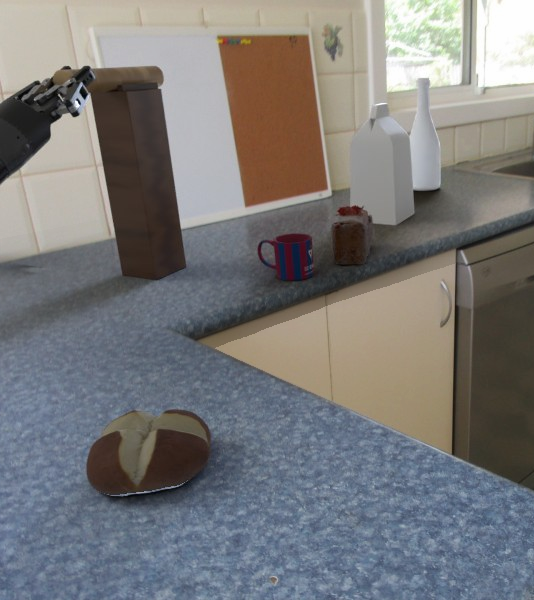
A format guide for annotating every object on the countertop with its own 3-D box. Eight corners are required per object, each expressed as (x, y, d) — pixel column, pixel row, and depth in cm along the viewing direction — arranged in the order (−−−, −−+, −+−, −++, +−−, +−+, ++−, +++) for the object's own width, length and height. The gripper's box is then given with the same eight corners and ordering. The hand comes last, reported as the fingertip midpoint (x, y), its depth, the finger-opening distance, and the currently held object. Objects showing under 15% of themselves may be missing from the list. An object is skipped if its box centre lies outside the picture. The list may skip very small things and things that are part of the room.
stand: (156, 280, 118) (125, 85, 106) (122, 275, 121) (88, 84, 109) (186, 267, 124) (160, 82, 113) (153, 262, 127) (125, 82, 116)
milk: (395, 225, 151) (393, 106, 142) (350, 221, 155) (345, 106, 146) (414, 213, 161) (413, 102, 152) (371, 210, 165) (367, 101, 156)
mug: (304, 282, 115) (301, 244, 112) (253, 277, 118) (249, 240, 115) (320, 270, 121) (317, 234, 118) (271, 266, 124) (267, 231, 121)
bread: (72, 504, 59) (61, 457, 58) (122, 435, 70) (114, 393, 68) (197, 502, 59) (189, 454, 57) (227, 433, 70) (222, 391, 68)
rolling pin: (73, 94, 100) (67, 69, 99) (56, 95, 101) (50, 70, 100) (165, 86, 117) (161, 65, 116) (150, 87, 118) (146, 66, 117)
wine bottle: (447, 187, 190) (447, 77, 180) (426, 192, 184) (425, 79, 173) (421, 183, 196) (420, 77, 186) (400, 188, 190) (398, 78, 179)
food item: (335, 245, 136) (332, 198, 132) (374, 244, 136) (372, 197, 133) (330, 266, 123) (327, 214, 120) (373, 265, 123) (371, 213, 120)
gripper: (25, 118, 88) (101, 47, 97) (-46, 116, 93) (33, 49, 103) (58, 163, 93) (128, 92, 103) (-10, 158, 99) (62, 91, 108)
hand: (80, 71), depth 103 cm, fingers closed on rolling pin, 3 cm apart
